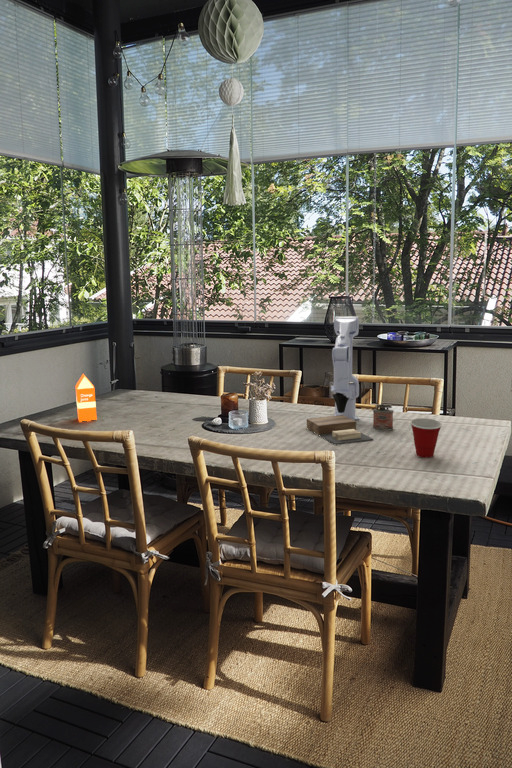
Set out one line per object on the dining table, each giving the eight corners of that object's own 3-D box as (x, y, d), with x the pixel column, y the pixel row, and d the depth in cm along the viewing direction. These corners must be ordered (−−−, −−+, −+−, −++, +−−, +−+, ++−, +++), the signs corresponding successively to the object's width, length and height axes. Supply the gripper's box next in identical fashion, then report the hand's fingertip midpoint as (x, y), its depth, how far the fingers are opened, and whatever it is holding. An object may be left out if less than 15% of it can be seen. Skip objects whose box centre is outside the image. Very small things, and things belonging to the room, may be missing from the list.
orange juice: (95, 416, 300) (92, 372, 296) (97, 420, 291) (93, 375, 287) (77, 417, 297) (74, 373, 293) (78, 422, 289) (75, 376, 285)
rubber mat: (319, 435, 259) (319, 434, 259) (356, 431, 264) (356, 430, 264) (334, 444, 246) (334, 443, 246) (373, 440, 251) (373, 438, 251)
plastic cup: (422, 462, 224) (423, 427, 221) (402, 453, 233) (403, 420, 231) (448, 457, 228) (449, 423, 225) (428, 449, 238) (429, 416, 235)
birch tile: (339, 435, 249) (339, 440, 250) (360, 432, 252) (360, 437, 253) (332, 431, 255) (332, 436, 255) (353, 428, 258) (353, 433, 258)
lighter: (372, 428, 267) (372, 404, 265) (373, 426, 270) (373, 402, 268) (392, 429, 265) (392, 405, 263) (393, 427, 268) (394, 403, 266)
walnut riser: (306, 428, 270) (306, 418, 269) (342, 424, 275) (342, 414, 274) (319, 435, 259) (318, 425, 258) (356, 431, 264) (356, 421, 263)
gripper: (323, 375, 260) (323, 409, 262) (340, 381, 246) (340, 417, 249) (340, 373, 262) (340, 407, 264) (357, 380, 248) (357, 415, 251)
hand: (341, 412), depth 257 cm, fingers closed
